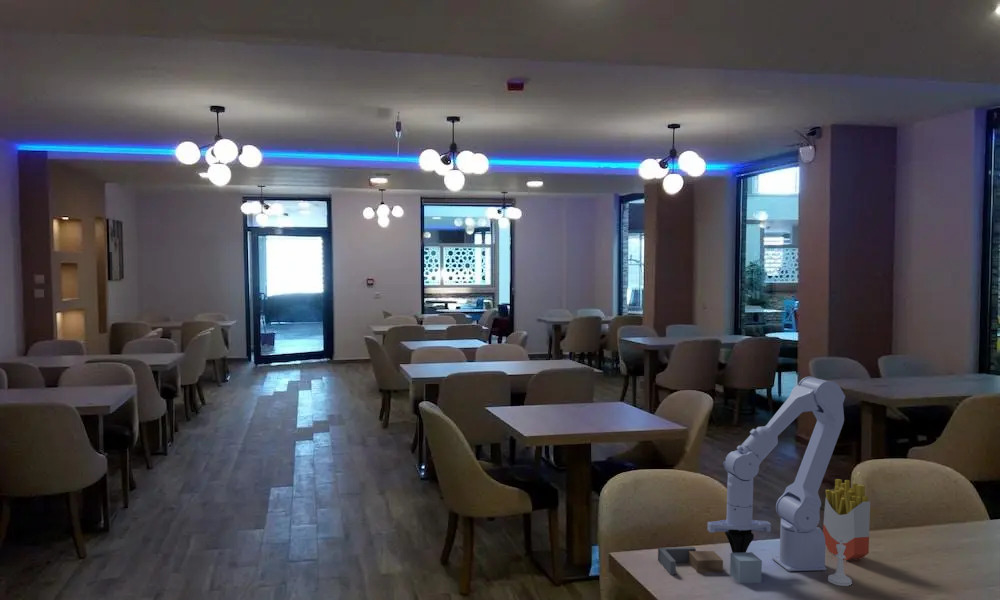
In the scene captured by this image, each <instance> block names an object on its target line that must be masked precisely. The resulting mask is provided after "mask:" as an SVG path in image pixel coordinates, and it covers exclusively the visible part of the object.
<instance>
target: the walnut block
mask: <svg viewBox="0 0 1000 600" xmlns="http://www.w3.org/2000/svg"><path fill="white" fill-rule="evenodd" d="M688 562H689V563H688V565H690V566H691V568H693V570H694V569H695V570H696V571H695V570H694V571H695V572H696V573H723V572H724V560H723V559H722V557H720V556H719V554H717V552H716V551H715V550H696V551H689V559H688Z"/></svg>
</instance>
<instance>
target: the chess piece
mask: <svg viewBox="0 0 1000 600" xmlns="http://www.w3.org/2000/svg"><path fill="white" fill-rule="evenodd" d="M837 542H840V544H837V545H836V548H837V551H838V554H836V556H835V555H834V556H835V558H838V559H837V563H836V564H837V565H836V570H835V572H834V573H832V574H829V575H828V576H827V581H828V582H829V583H831V584H833V585H836V586H840V587H842V586H843V587H849V585H850V586H851V584H853V580H852V578H850V577H849V576H848V575H846V573H845V569H844V567H845V566H844V560H843V559H845V558H846V556H845V555H843V553H844V551H845V548H846V546H845V545H843V544H842V542H845V540H842V537H840V539H837Z"/></svg>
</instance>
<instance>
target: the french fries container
mask: <svg viewBox="0 0 1000 600" xmlns="http://www.w3.org/2000/svg"><path fill="white" fill-rule="evenodd" d="M850 485H851V481H850V480H849V479H845V480H844V482H843V479H839V478H836V479H834V488H832V489H825V501H824V511H823V512H824V513H823V529H822V532H823V534H824V537H825V547H826V548H827V549H828V551H829V553H830V552H831V553H833V554H835V555H836V554H838V551H837V548H836V545H837V544H840V542H837V539H840V537H842V540H845V542H842V544H843V545H845V546H846V548H845V551H844V553H843V555H845V556H846V558H845V560H849V561H852V560H851V559H860V558H861V559H863V558H864V557H866V556H867V555H868V554H870V553H869V551H870V550H869V549H870V520H871V519H870V517H871V515H870V514H871V501H870V500H869V496H866V495H865V494H866V485H863V484H858V483H855V482H854V483H852V487H851V486H850ZM831 553H830V554H831ZM833 554H832V555H833ZM835 555H834V556H835ZM861 559H860V560H861ZM845 560H844V561H845Z"/></svg>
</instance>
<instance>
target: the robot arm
mask: <svg viewBox="0 0 1000 600" xmlns="http://www.w3.org/2000/svg"><path fill="white" fill-rule="evenodd" d="M845 400H846V394H845V393H844V390H843V389H841V386H840V385H839V384H838V383H836V382H835V381H832V380H825V379H821V378H817V377H815V376H809V375H808V376H805V377H804V378H802V379H801V380H800V381H799V382H798V383H797V385H794V387H793V388H792V390H791V392H790V394H789V395H788V397H787V399H786V400H785V401H784V402H783V404H782V405H781V406H780V407H779V409H778V410H777V411H776V412H775V414H774V415H773V416H772V417H771V418H770V419H769V421H768V422H767V424H765V426H764V425H763V426H757V427H756V428H752V429H751V430H750V431H749V434H750V435H749V436H747V438H746V439H745V440H744V441H743V442H742V443H741V445H740V444H739V445H738V446H736V449H737V450H734V451H730V452H729V453H728V454H727V455H726V456H725V460H724V461H723V463H722V464H723V467H724V468H723V469H725V471H726V472H727V484H726V487H727V488H726V490H727V491H726V517H725V518H726V519H721V520H716V521H715V520H714V521H707V526H706V527H707V528H706V530H707V531H708V532H709V533H710V534H712V533H714V534H715V532H719V533H720V532H723V533H724V534H725V536H726V538H727V541H728V543H729V545H730V548H731V553H745V552H748V551H747V550H748V548H749V546H750V545H751V543H752V541H753V540H754V538H755V535H754V533H752V532H760V531H761V532H764V531H765V532H767V533H769V532H770V533H771V531H772V529H771V527H772V526H771V525H772V522H771V523H770V522H769V521H768V520H757V519H756V520H755V519H753V511H754V510H753V507H754V506H753V503H754V500H753V499H754V478H755V477H756V476H758V473H759V471H760V464H761V463H762V462H763V460H765V459H766V457H767V456H768V455H769V454H770V453H771V451H773V450H774V449H775V448H776V446H777V445H779V444H778V443H779V440H778V436H779V435H781V433H782V432H784V430H786V429H787V428H788V427H789V426H790V425H791V424H792V423H793V422H794V421H795V420H796V419H797V418H798V417H799V416H800V415H801V414H802V413H807V412H812V413H813V415H814V417H815V418H816V423H815V426H814V427H813V431H812V433H811V436H810V439H809V442H808V443H807V444H808V445H807V447H806V449H805V452H804V454H803V458H802V460H801V463H800V466H799V468H798V471H797V474H796V476H795V479H794V481H793V483H791V484H789V485H788V486H786V487H785V490H784V492H783V494H782V495H781V496H780V497H779V498H778V499H777V501H776V504H775V511H776V514H777V515H778V517H780V528H779V529H780V534H779V537H780V538H779V556H772V560H773V561H775V562H776V563H777V564H779V566H781V567H782V568H783V569H785V570H786V571H788V572H803V571H805V572H807V571H808V572H809V571H827V567H826V544H825V537H824V534H823V529H821V527H819V526H818V525H819V523H820V519H821V516H820V510H821V507H822V500H821V498H820V495H819V490H820V487H821V485H822V482H823V480H824V478H825V477H824V476H825V475H826V471H827V469H828V465H829V463H830V461H831V458H832V456H833V452H834V450H835V446H836V445H837V442H838V439H839V436H840V434H841V430H842V429H843V426H844V422H845V413H844V401H845ZM817 526H818V527H817Z"/></svg>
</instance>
